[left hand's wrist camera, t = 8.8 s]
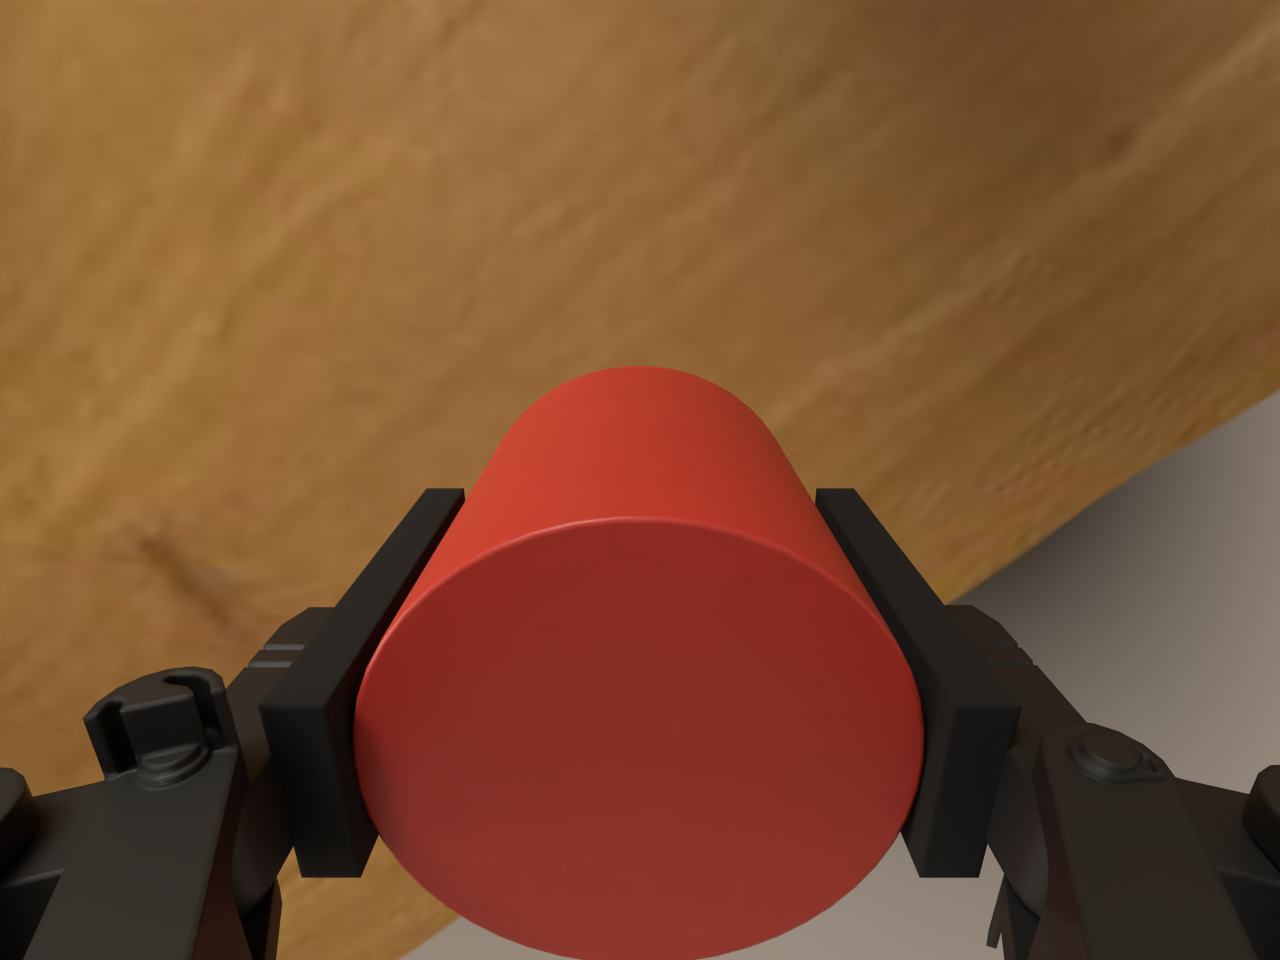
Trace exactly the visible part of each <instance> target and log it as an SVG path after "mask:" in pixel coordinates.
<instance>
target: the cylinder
mask: <svg viewBox="0 0 1280 960" xmlns="http://www.w3.org/2000/svg"><path fill="white" fill-rule="evenodd" d="M924 736H925V727H924V720H923V713H922V706H921V699H920V695H919V692H918V689H917V686H916V683H915V680H914V677H913V674H912V670H911V668H910V666H909V664H908V662H907V660H906V658H905V656H904V654H903V652H902V650H901V648H900V647H899V645H898V643H897V641H896V639H895V637H894V636H893V634H892V632H891V631H890V629H889V627H888V626H887V624H886V622H885V621H884V619H883V617H882V616H881V614H880V612H879V611H878V609H877V607H876V606H875V604H874V602H873V601H872V599H871V597H870V596H869V594H868V592H867V591H866V589H865V587H864V586H863V584H862V582H861V581H860V579H859V577H858V576H857V574H856V572H855V571H854V569H853V567H852V566H851V564H850V562H849V561H848V559H847V557H846V556H845V554H844V552H843V551H842V549H841V547H840V546H839V544H838V542H837V541H836V539H835V537H834V536H833V534H832V532H831V531H830V529H829V527H828V526H827V524H826V522H825V521H824V519H823V517H822V516H821V514H820V512H819V511H818V509H817V507H816V506H815V504H814V502H813V501H812V499H811V497H810V496H809V494H808V492H807V491H806V489H805V487H804V486H803V484H802V482H801V481H800V479H799V477H798V476H797V474H796V472H795V471H794V469H793V467H792V466H791V464H790V462H789V461H788V459H787V457H786V456H785V454H784V452H783V451H782V449H781V447H780V446H779V444H778V442H777V441H776V439H775V437H774V436H773V435H772V433H771V432H770V431H769V429H768V428H767V426H766V425H765V424H764V422H763V421H762V420H761V419H760V418H759V417H758V416H757V415H756V414H755V413H754V412H753V411H752V410H751V409H750V408H749V407H748V406H747V405H746V404H744V403H743V402H742V401H741V400H739V399H738V398H737V397H735V396H734V395H733V394H731V393H730V392H728V391H726V390H724V389H723V388H721V387H719V386H718V385H716V384H714V383H712V382H709V381H707V380H705V379H702V378H700V377H697V376H695V375H692V374H688V373H685V372H681V371H677V370H673V369H667V368H659V367H652V366H627V367H619V368H612V369H605V370H601V371H598V372H594V373H590V374H586V375H584V376H581V377H579V378H576V379H574V380H571V381H569V382H567V383H564V384H563V385H561V386H559V387H558V388H556V389H554V390H552V391H551V392H549V393H547V394H546V395H544V396H543V397H542V398H541V399H539V400H538V401H537V402H535V403H534V404H533V405H532V406H530V407H529V408H528V409H527V410H526V411H525V412H524V413H523V414H522V415H521V417H520V418H519V419H518V420H517V421H516V422H515V423H514V425H513V426H512V427H511V429H510V430H509V431H508V433H507V434H506V435H505V437H504V438H503V440H502V442H501V443H500V445H499V447H498V448H497V450H496V451H495V453H494V455H493V456H492V458H491V460H490V461H489V463H488V465H487V466H486V468H485V470H484V471H483V473H482V475H481V476H480V478H479V479H478V481H477V483H476V484H475V486H474V488H473V489H472V491H471V493H470V494H469V496H468V498H467V499H466V501H465V503H464V504H463V506H462V507H461V509H460V511H459V512H458V514H457V516H456V517H455V519H454V521H453V522H452V524H451V526H450V527H449V529H448V531H447V532H446V534H445V535H444V537H443V539H442V540H441V542H440V544H439V545H438V547H437V549H436V550H435V552H434V554H433V555H432V557H431V559H430V560H429V562H428V563H427V565H426V567H425V568H424V570H423V572H422V573H421V575H420V577H419V578H418V580H417V582H416V583H415V585H414V586H413V588H412V590H411V591H410V593H409V595H408V596H407V598H406V600H405V601H404V603H403V605H402V606H401V608H400V610H399V611H398V613H397V614H396V616H395V618H394V619H393V621H392V623H391V624H390V626H389V628H388V629H387V631H386V633H385V634H384V636H383V638H382V639H381V641H380V643H379V645H378V647H377V649H376V651H375V653H374V655H373V656H372V658H371V660H370V662H369V664H368V666H367V668H366V671H365V674H364V677H363V681H362V684H361V687H360V690H359V693H358V696H357V701H356V708H355V715H354V722H353V758H354V765H355V770H356V775H357V781H358V786H359V790H360V793H361V795H362V798H363V801H364V803H365V806H366V809H367V812H368V814H369V817H370V819H371V820H372V822H373V824H374V826H375V828H376V830H377V831H378V833H379V835H380V837H381V839H382V840H383V842H384V843H385V845H386V846H387V847H388V849H389V850H390V851H391V853H392V854H393V855H394V857H395V858H396V859H397V861H398V862H399V864H400V865H401V866H402V867H403V868H404V869H405V870H406V871H407V872H408V873H409V874H410V875H411V876H412V877H413V878H414V879H415V880H416V881H417V882H418V883H419V884H420V885H421V887H423V888H424V889H425V890H426V891H428V892H429V893H430V894H431V895H433V896H434V897H435V898H436V899H438V900H439V901H440V902H441V903H443V904H444V905H445V906H447V907H448V908H450V909H451V910H453V911H454V912H456V913H458V914H459V915H461V916H462V917H464V918H465V919H467V920H469V921H470V922H472V923H474V924H476V925H478V926H480V927H482V928H484V929H486V930H488V931H490V932H492V933H494V934H496V935H498V936H500V937H503V938H506V939H508V940H511V941H513V942H516V943H519V944H521V945H524V946H527V947H530V948H533V949H537V950H541V951H544V952H548V953H551V954H555V955H558V956H564V957H569V958H575V959H581V960H697V959H703V958H708V957H714V956H719V955H723V954H726V953H730V952H734V951H737V950H741V949H745V948H748V947H751V946H754V945H756V944H759V943H762V942H764V941H767V940H770V939H772V938H775V937H778V936H780V935H782V934H784V933H786V932H788V931H790V930H792V929H794V928H796V927H798V926H800V925H802V924H804V923H806V922H807V921H809V920H811V919H812V918H814V917H815V916H817V915H819V914H820V913H822V912H823V911H825V910H827V909H828V908H830V907H831V906H833V905H834V904H835V903H836V902H838V901H839V900H840V899H841V898H843V897H844V896H845V895H846V894H848V893H849V892H850V891H851V890H853V889H854V888H855V887H856V886H857V885H858V884H859V883H860V882H861V881H862V880H863V879H864V878H865V877H866V876H867V875H868V874H869V873H870V872H871V871H872V870H873V869H874V868H875V867H876V865H877V864H878V863H879V861H880V860H881V859H882V858H883V856H884V855H885V854H886V852H887V851H888V850H889V848H890V847H891V846H892V844H893V843H894V841H895V839H896V838H897V836H898V834H899V832H900V830H901V829H902V827H903V825H904V823H905V821H906V820H907V818H908V815H909V813H910V810H911V807H912V805H913V802H914V799H915V797H916V794H917V791H918V787H919V782H920V777H921V772H922V767H923V762H924Z"/></svg>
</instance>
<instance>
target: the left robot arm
mask: <svg viewBox="0 0 1280 960" xmlns="http://www.w3.org/2000/svg"><path fill="white" fill-rule="evenodd" d="M464 503H465V495H464V488H427V489H426V490H425V491H424V493H423V494H422V495H421V496H420V498H419V499H418V500H417V502H416V503H415V504H414V506H413V507H412V508H411V509H410V511H409V512H408V513H407V515H406V516H405V517H404V518H403V520H402V521H401V522H400V524H399V525H398V526H397V527H396V529H395V530H394V531H393V533H392V534H391V535H390V536H389V538H388V539H387V540H386V542H385V543H384V544H383V546H382V547H381V548H380V549H379V551H378V552H377V553H376V555H375V556H374V557H373V558H372V560H371V561H370V562H369V564H368V565H367V566H366V567H365V569H364V570H363V571H362V573H361V574H360V575H359V576H358V578H357V579H356V580H355V582H354V583H353V584H352V586H351V587H350V588H349V589H348V591H347V592H346V593H345V595H344V596H343V597H342V598H341V600H340V601H339V602H338V604H337V605H336V606H335V607H309V608H308V609H306V610H305V611H303V612H301V613H300V614H298V615H297V616H295V617H294V618H292V619H290V620H289V621H287V622H286V623H284V624H283V625H281V626H280V627H279V629H278V630H277V631H276V632H275V633H274V634H273V635H272V637H271V638H270V639H269V640H268V641H267V642H266V644H265V645H264V648H263V650H259V652H258V653H257V654H256V655H255V656H254V657H253V658H252V660H251V661H250V662H249V663H248V664H249V665H248V668H244V669H243V670H242V671H241V672H240V673H239V675H238V676H237V677H236V678H235V679H234V680H233V681H232V683H231V684H230V685H229V686H228V687H227V688H226V689H225V686H224V683H223V679H222V677H221V676H219V675H218V674H217V673H215V672H214V671H213V670H212V669H206V668H199V667H183V668H172V669H167V670H163V671H160V672H156V673H153V674H149V675H146V676H143V677H140V678H138V679H136V680H134V681H132V682H129V683H127V684H125V685H123V686H121V687H119V688H117V689H115V690H114V691H112V692H111V693H110V694H108V695H107V696H105V697H104V698H102V699H101V700H99V701H98V702H97V703H96V704H95V705H94V706H93V707H92V708H91V709H90V711H89V712H88V713H87V714H86V715H85V717H84V718H83V721H84V723H85V726H86V729H87V731H88V734H89V737H90V739H91V742H92V745H93V747H94V750H95V753H96V755H97V758H98V761H99V763H100V766H101V769H102V771H103V774H104V777H105V779H104V781H101V782H97V783H93V784H88V785H84V786H79V787H75V788H70V789H66V790H61V791H57V792H53V793H48V794H44V795H39V796H35V797H32V794H31V792H30V790H29V787H28V785H27V783H26V781H25V778H24V776H23V775H21V774H20V773H18V772H17V771H15V770H14V769H12V768H0V960H276V954H277V945H278V936H279V927H280V918H281V909H282V900H281V893H280V887H279V884H278V880H277V875H278V873H279V871H280V869H281V868H282V866H283V864H284V862H285V860H286V858H287V857H288V855H289V853H290V851H291V849H292V847H293V846H294V849H295V853H296V857H297V861H298V865H299V869H300V873H301V877H302V878H361V876H362V873H363V871H364V868H365V866H366V864H367V861H368V859H369V856H370V854H371V852H372V849H373V847H374V845H375V842H376V840H377V837H378V835H379V833H378V831H377V830H376V828H375V826H374V824H373V822H372V820H371V819H370V817H369V814H368V812H367V809H366V806H365V803H364V801H363V798H362V795H361V793H360V790H359V786H358V781H357V775H356V770H355V765H354V758H353V722H354V715H355V708H356V701H357V696H358V693H359V690H360V687H361V684H362V681H363V677H364V674H365V671H366V668H367V666H368V664H369V662H370V660H371V658H372V656H373V655H374V653H375V651H376V649H377V647H378V645H379V643H380V641H381V639H382V638H383V636H384V634H385V633H386V631H387V629H388V628H389V626H390V624H391V623H392V621H393V619H394V618H395V616H396V614H397V613H398V611H399V610H400V608H401V606H402V605H403V603H404V601H405V600H406V598H407V596H408V595H409V593H410V591H411V590H412V588H413V586H414V585H415V583H416V582H417V580H418V578H419V577H420V575H421V573H422V572H423V570H424V568H425V567H426V565H427V563H428V562H429V560H430V559H431V557H432V555H433V554H434V552H435V550H436V549H437V547H438V545H439V544H440V542H441V540H442V539H443V537H444V535H445V534H446V532H447V531H448V529H449V527H450V526H451V524H452V522H453V521H454V519H455V517H456V516H457V514H458V512H459V511H460V509H461V507H462V506H463V504H464ZM815 506H816V507H817V509H818V511H819V512H820V514H821V516H822V517H823V519H824V521H825V522H826V524H827V526H828V527H829V529H830V531H831V532H832V534H833V536H834V537H835V539H836V541H837V542H838V544H839V546H840V547H841V549H842V551H843V552H844V554H845V556H846V557H847V559H848V561H849V562H850V564H851V566H852V567H853V569H854V571H855V572H856V574H857V576H858V577H859V579H860V581H861V582H862V584H863V586H864V587H865V589H866V591H867V592H868V594H869V596H870V597H871V599H872V601H873V602H874V604H875V606H876V607H877V609H878V611H879V612H880V614H881V616H882V617H883V619H884V621H885V622H886V624H887V626H888V627H889V629H890V631H891V632H892V634H893V636H894V637H895V639H896V641H897V643H898V645H899V647H900V648H901V650H902V652H903V654H904V656H905V658H906V660H907V662H908V664H909V666H910V668H911V670H912V674H913V677H914V680H915V683H916V686H917V689H918V692H919V695H920V699H921V706H922V713H923V720H924V727H925V736H924V762H923V767H922V772H921V777H920V782H919V787H918V791H917V794H916V797H915V799H914V802H913V805H912V807H911V810H910V813H909V815H908V818H907V820H906V821H905V823H904V825H903V827H902V829H901V830H900V832H901V834H902V836H903V839H904V841H905V843H906V846H907V848H908V851H909V853H910V855H911V858H912V860H913V863H914V865H915V867H916V870H917V872H918V874H919V877H920V878H979V875H980V871H981V867H982V863H983V859H984V855H985V851H986V847H987V843H988V845H989V847H990V848H991V850H992V852H993V854H994V856H995V858H996V859H997V861H998V863H999V865H1000V867H1001V868H1002V870H1003V872H1004V876H1003V880H1002V884H1001V887H1000V891H999V895H998V898H997V902H996V906H995V909H994V913H993V917H992V920H991V924H990V928H989V932H988V939H987V946H989V947H992V948H997V944H998V941H999V937H1000V933H1001V934H1002V943H1003V951H1004V960H1280V765H1270V766H1269V767H1267V768H1266V769H1264V770H1263V771H1261V772H1259V773H1258V775H1257V778H1256V780H1255V782H1254V785H1253V787H1252V789H1251V791H1250V794H1246V793H1241V792H1237V791H1232V790H1228V789H1223V788H1219V787H1214V786H1210V785H1205V784H1201V783H1196V782H1192V781H1187V780H1183V779H1180V778H1176V777H1175V776H1174V775H1173V773H1172V772H1171V771H1170V769H1169V768H1168V766H1167V765H1166V764H1165V762H1164V761H1163V760H1162V759H1161V758H1160V757H1158V756H1157V755H1156V754H1155V753H1153V752H1152V751H1151V750H1150V749H1148V748H1147V747H1146V746H1144V745H1143V744H1142V743H1140V742H1138V741H1136V740H1134V739H1132V738H1130V737H1128V736H1126V735H1124V734H1123V733H1121V732H1119V731H1115V730H1112V729H1109V728H1106V727H1103V726H1100V725H1097V724H1093V723H1087V722H1086V721H1085V720H1084V719H1083V718H1082V716H1081V715H1080V714H1079V713H1078V712H1077V711H1076V710H1075V708H1074V707H1073V706H1072V705H1071V704H1070V703H1069V702H1068V700H1067V699H1066V698H1065V697H1064V696H1063V695H1062V694H1061V693H1060V691H1059V690H1058V689H1057V688H1056V687H1055V686H1054V685H1053V683H1052V682H1051V681H1050V680H1049V679H1048V678H1047V677H1046V675H1045V674H1044V673H1043V672H1042V671H1041V670H1040V669H1039V667H1038V666H1037V665H1033V661H1032V659H1031V658H1030V657H1029V656H1028V655H1027V654H1026V653H1025V652H1024V650H1023V649H1022V648H1018V644H1017V642H1016V641H1015V640H1014V639H1013V638H1012V637H1011V635H1010V634H1009V633H1008V632H1007V631H1006V630H1005V629H1004V627H1003V626H1002V625H1001V624H1000V623H999V622H997V621H996V620H994V619H992V618H991V617H989V616H988V615H986V614H985V613H983V612H981V611H980V610H978V609H977V608H975V607H973V606H972V605H944V604H943V603H942V602H941V600H940V599H939V598H938V596H937V595H936V594H935V593H934V591H933V590H932V589H931V587H930V586H929V585H928V584H927V582H926V581H925V580H924V578H923V577H922V576H921V575H920V573H919V572H918V571H917V569H916V568H915V567H914V566H913V564H912V563H911V562H910V560H909V559H908V558H907V557H906V555H905V554H904V553H903V551H902V550H901V549H900V547H899V546H898V545H897V544H896V542H895V541H894V540H893V538H892V537H891V536H890V535H889V533H888V532H887V531H886V529H885V528H884V527H883V526H882V524H881V523H880V522H879V520H878V519H877V518H876V517H875V515H874V514H873V513H872V511H871V510H870V509H869V507H868V506H867V505H866V504H865V502H864V501H863V500H862V498H861V497H860V496H859V495H858V493H857V492H856V491H855V489H845V488H817V490H816V500H815Z"/></svg>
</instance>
